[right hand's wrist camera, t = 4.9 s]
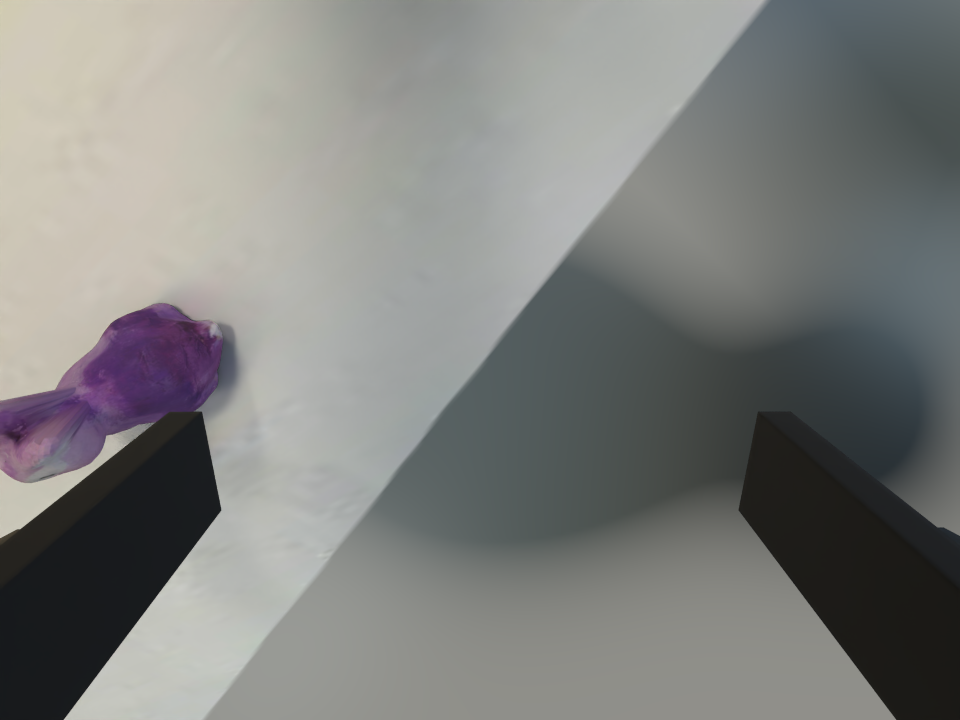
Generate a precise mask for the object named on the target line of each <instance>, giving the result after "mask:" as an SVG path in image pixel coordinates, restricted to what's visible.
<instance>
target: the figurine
mask: <svg viewBox="0 0 960 720" xmlns="http://www.w3.org/2000/svg"><path fill="white" fill-rule="evenodd" d="M222 344H223V336H222V332H221V330H220V328H219V327H218V325H217V324H216V323H215V322H213V321H211V320H205V321H192V320H190V319H189V318H187V317H186V316H183V315H182V314H181V313H180V312H178V310H176V309H175V308H174V307H173V306H171V305H169V304H165V303H161V304H153V305H151V306H148V307H146V308H144V309H142V310H139V311H135V312H132V313H130V314H127V315H125V316H123V317H121V318H118V319H117V320H115V321H114V322H112V323H111V324H110V325H109V327H108V328H107V329H106V330H105V332H104V333H103V335H102V337H101V338H100V340H99V342H98V343H97V345H96V346H95V347H94V348H93V349H92V350H91V351H90V352H89V353H87V354H86V355H85V356H84V357H82V358H81V359H80V360H79V361H77V362H76V363H75V364H74V365H73V366H72V367H71V368H70V369H69V370H68V371H67V372H66V373H65V374H64V375H63V377H62V379H61V380H60V382H59V384H58V386H57V387H56V390H53V391H48V392H43V393H38V394H33V395H28V396H23V397H18V398H13V399H8V400H3V401H0V469H1V470H2V471H3V472H5V473H6V474H7V475H9V476H10V477H12V478H13V479H15V480H17V481H20V482H24V483H34V482H38V481H41V480H45V479H49V478H52V477H55V476H57V475H60V474H63V473H66V472H70V471H74V470H77V469H79V468H82V467H84V466H86V465H88V464H90V463H91V462H92V461H93V460H94V459H95V458H96V457H97V456H98V455H99V453H100V452H101V450H102V448H103V446H104V443H105V439H106V435H111V434H115V433H118V432H121V431H125V430H127V429H130V428H132V427H134V426H137V425H140V424H145V423H151V422H157V421H158V420H160V419H161V418H162V417H163V416H165V415H166V414H167V413H168V412H194V411H195V410H197V409H198V408H199V407H200V406H201V405H202V404H203V403H204V402H205V401H206V399H207V398H208V397H209V396H210V394H211V393H212V392H213V391H214V390H215V388H216V387H217V385H218V373H217V370H218V367H219V364H220V360H221V352H222Z"/></svg>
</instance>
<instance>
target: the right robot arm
mask: <svg viewBox="0 0 960 720" xmlns="http://www.w3.org/2000/svg"><path fill="white" fill-rule="evenodd" d="M220 511H221V506H220V500H219V495H218V490H217V485H216V480H215V475H214V470H213V465H212V460H211V455H210V450H209V445H208V440H207V435H206V430H205V425H204V419H203V414H202V412H168V413H167V414H166V415H165V416H163V417H162V418H161V419H160V420H158V421H157V422H156V423H155V424H153V425H152V426H151V427H149V428H148V429H147V430H146V431H144V432H143V433H142V434H141V435H139V436H138V437H137V438H136V439H134V440H133V441H132V442H130V443H129V444H128V445H127V446H125V447H124V448H123V449H122V450H120V451H119V452H118V453H117V454H115V455H114V456H113V457H111V458H110V459H109V460H108V461H106V462H105V463H104V464H103V465H101V466H100V467H99V468H97V469H96V470H95V471H94V472H92V473H91V474H90V475H89V476H87V477H86V478H85V479H84V480H82V481H81V482H80V483H78V484H77V485H76V486H75V487H73V488H72V489H71V490H70V491H68V492H67V493H66V494H65V495H63V496H62V497H61V498H59V499H58V500H57V501H56V502H54V503H53V504H52V505H51V506H49V507H48V508H47V509H46V510H44V511H43V512H42V513H40V514H39V515H38V516H37V517H35V518H34V519H33V520H32V521H30V522H29V523H28V524H27V525H25V526H24V527H23V528H21V529H17V530H15V531H13V532H11V533H10V534H8V535H6V536H4V537H2V538H0V720H64V719H65V717H66V716H67V715H68V713H69V712H70V711H71V709H72V708H73V707H74V705H75V704H76V703H77V701H78V700H79V699H80V697H81V696H82V695H83V693H84V692H85V691H86V689H87V688H88V687H89V685H90V684H91V683H92V681H93V680H94V679H95V677H96V676H97V675H98V673H99V672H100V671H101V669H102V668H103V667H104V665H105V664H106V663H107V661H108V660H109V659H110V657H111V656H112V655H113V653H114V652H115V651H116V649H117V648H118V647H119V645H120V644H121V643H122V642H123V640H124V639H125V638H126V636H127V635H128V634H129V632H130V631H131V630H132V628H133V627H134V626H135V624H136V623H137V622H138V620H139V619H140V618H141V616H142V615H143V614H144V612H145V611H146V610H147V608H148V607H149V606H150V604H151V603H152V602H153V600H154V599H155V598H156V596H157V595H158V594H159V592H160V591H161V590H162V588H163V587H164V586H165V584H166V583H167V582H168V580H169V579H170V578H171V576H172V575H173V574H174V572H175V571H176V570H177V568H178V567H179V566H180V564H181V563H182V562H183V561H184V559H185V558H186V557H187V555H188V554H189V553H190V551H191V550H192V549H193V547H194V546H195V545H196V543H197V542H198V541H199V539H200V538H201V537H202V535H203V534H204V533H205V531H206V530H207V529H208V527H209V526H210V525H211V523H212V522H213V521H214V519H215V518H216V517H217V515H218V514H219V513H220ZM739 511H740V513H741V514H742V515H743V517H744V518H745V519H746V521H747V522H748V523H749V525H750V526H751V527H752V529H753V530H754V531H755V533H756V534H757V535H758V537H759V538H760V539H761V541H762V542H763V543H764V545H765V546H766V547H767V549H768V550H769V551H770V553H771V554H772V555H773V557H774V558H775V559H776V561H777V562H778V563H779V564H780V566H781V567H782V568H783V570H784V571H785V572H786V574H787V575H788V576H789V578H790V579H791V580H792V582H793V583H794V584H795V586H796V587H797V588H798V590H799V591H800V592H801V594H802V595H803V596H804V598H805V599H806V600H807V602H808V603H809V604H810V606H811V607H812V608H813V610H814V611H815V612H816V614H817V615H818V616H819V618H820V619H821V620H822V622H823V623H824V624H825V626H826V627H827V628H828V630H829V631H830V632H831V634H832V635H833V636H834V638H835V639H836V640H837V642H838V643H839V644H840V645H841V647H842V648H843V649H844V651H845V652H846V653H847V655H848V656H849V657H850V659H851V660H852V661H853V663H854V664H855V665H856V667H857V668H858V669H859V671H860V672H861V673H862V675H863V676H864V677H865V679H866V680H867V681H868V683H869V684H870V685H871V687H872V688H873V689H874V691H875V692H876V693H877V695H878V696H879V697H880V699H881V700H882V701H883V703H884V704H885V705H886V707H887V708H888V709H889V711H890V712H891V713H892V714H893V716H894V717H895V719H896V720H960V536H959V535H957V534H955V533H953V532H951V531H949V530H947V529H945V528H937V527H936V526H935V525H933V524H932V523H931V522H930V521H928V520H927V519H926V518H925V517H923V516H922V515H921V514H919V513H918V512H917V511H916V510H914V509H913V508H912V507H911V506H909V505H908V504H907V503H906V502H904V501H903V500H902V499H900V498H899V497H898V496H897V495H895V494H894V493H893V492H892V491H890V490H889V489H888V488H887V487H885V486H884V485H883V484H882V483H880V482H879V481H878V480H876V479H875V478H874V477H873V476H871V475H870V474H869V473H868V472H866V471H865V470H864V469H862V468H861V467H860V466H859V465H857V464H856V463H855V462H854V461H852V460H851V459H850V458H849V457H847V456H846V455H845V454H843V453H842V452H841V451H840V450H838V449H837V448H836V447H835V446H833V445H832V444H831V443H830V442H828V441H827V440H826V439H824V438H823V437H822V436H821V435H819V434H818V433H817V432H816V431H814V430H813V429H812V428H811V427H809V426H808V425H807V424H805V423H804V422H803V421H802V420H800V419H799V418H798V417H797V416H795V415H794V414H793V413H792V412H758V414H757V420H756V425H755V430H754V435H753V440H752V445H751V450H750V455H749V460H748V465H747V470H746V475H745V480H744V485H743V490H742V495H741V500H740V506H739Z"/></svg>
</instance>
